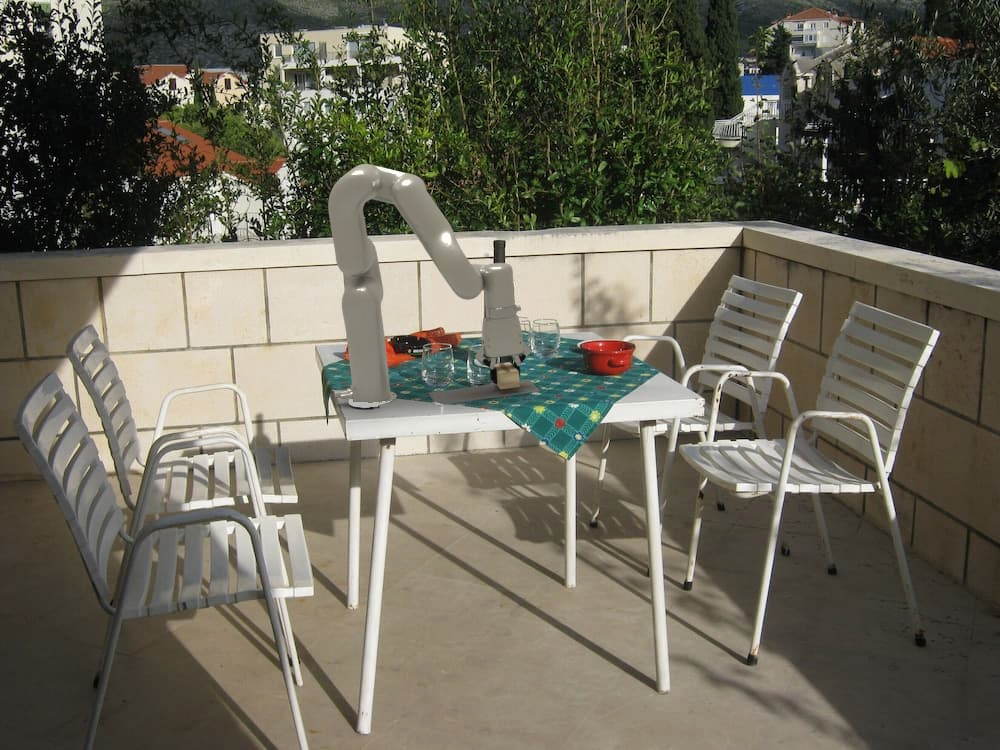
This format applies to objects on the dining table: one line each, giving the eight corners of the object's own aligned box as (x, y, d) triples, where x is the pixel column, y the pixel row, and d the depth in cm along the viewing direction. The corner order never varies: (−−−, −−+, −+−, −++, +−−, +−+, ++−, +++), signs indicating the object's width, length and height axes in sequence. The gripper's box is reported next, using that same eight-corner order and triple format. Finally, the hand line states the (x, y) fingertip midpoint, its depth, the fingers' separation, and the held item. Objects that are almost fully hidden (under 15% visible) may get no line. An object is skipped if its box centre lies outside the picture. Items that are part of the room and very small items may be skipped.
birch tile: (492, 379, 281) (491, 363, 280) (510, 376, 282) (509, 361, 281) (500, 389, 272) (499, 373, 271) (519, 386, 273) (518, 370, 272)
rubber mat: (436, 407, 268) (436, 405, 268) (428, 394, 279) (428, 392, 279) (540, 393, 273) (540, 391, 273) (528, 381, 285) (528, 379, 285)
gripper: (529, 305, 277) (533, 373, 282) (464, 313, 274) (470, 381, 279) (536, 311, 270) (541, 380, 275) (470, 319, 267) (476, 389, 272)
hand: (505, 380), depth 277 cm, fingers closed on birch tile, 4 cm apart
